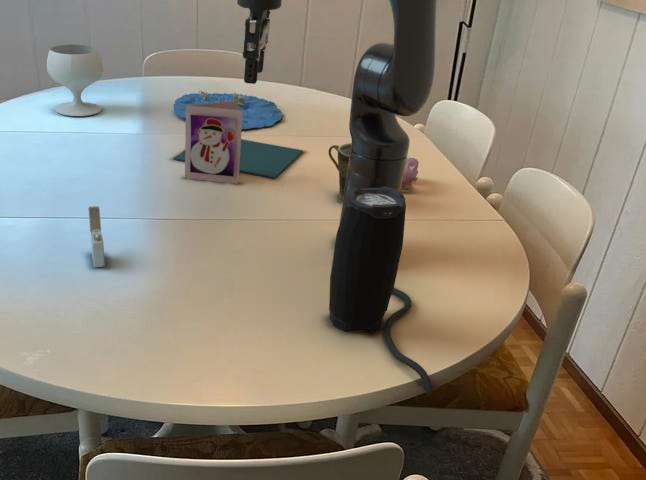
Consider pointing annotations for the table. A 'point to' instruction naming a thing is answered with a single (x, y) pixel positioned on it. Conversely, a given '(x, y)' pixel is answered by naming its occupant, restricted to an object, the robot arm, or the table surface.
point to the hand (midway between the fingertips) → (253, 77)
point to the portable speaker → (366, 257)
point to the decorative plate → (252, 107)
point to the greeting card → (213, 142)
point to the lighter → (96, 237)
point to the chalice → (75, 75)
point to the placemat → (261, 158)
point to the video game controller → (410, 172)
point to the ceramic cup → (341, 164)
